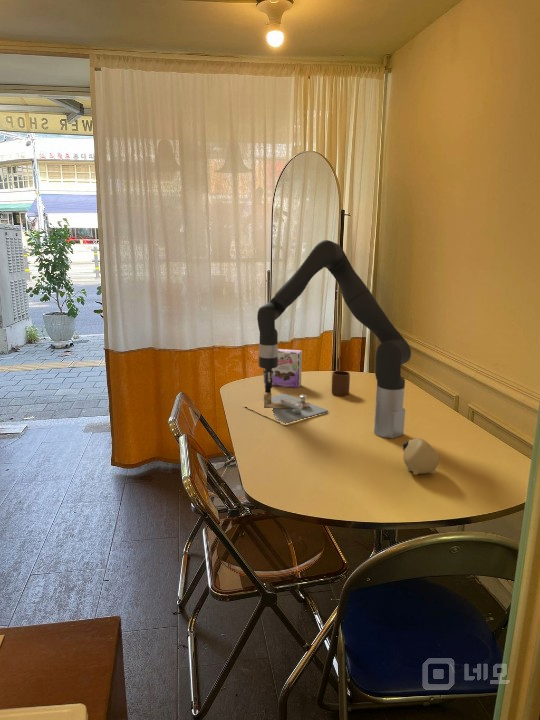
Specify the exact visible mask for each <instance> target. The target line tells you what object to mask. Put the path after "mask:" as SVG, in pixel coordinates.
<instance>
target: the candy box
mask: <svg viewBox="0 0 540 720" xmlns="http://www.w3.org/2000/svg"><path fill="white" fill-rule="evenodd" d="M302 358H303V350H300V349H299V350H297V349H286V348H278V366H277V367H276V368H272V370H273V383H272V385H275V386H274V387H281V386H282V387H283V388H293V389H299V388H300V387H301V386H302V369H303V368H302V366H303V365H302V362H303V359H302Z"/></svg>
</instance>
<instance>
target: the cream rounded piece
mask: <svg viewBox="0 0 540 720" xmlns="http://www.w3.org/2000/svg"><path fill="white" fill-rule="evenodd" d="M402 451H403V456H402V457H403V463H404V464H405V466H406V468H407V471H408V472H412V473H413V475H416V476H417V475H419V474H428V473H430V474H432V475H435V474H436V473H437V470H436V469H437V467H438V466H439V464H440V456H439V454H438V452H437V451H436V450H435V449H434V447H433V446H432V445H431V444H430V443H429V442H428V441H427V440H425V439H423V438H421V437H418V438H414V439H408V441H404V442H403V443H402Z"/></svg>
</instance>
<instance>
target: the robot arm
mask: <svg viewBox="0 0 540 720" xmlns="http://www.w3.org/2000/svg"><path fill="white" fill-rule="evenodd" d="M324 268H325V269H327V270H328V271H329V273H330V274H331V275H332V276H333V277H334V279H335V281H336V283H338V284H337V285H338V286H339V288H340V293H341V295H342V296H341V297H342V298H343V301H344V303H345V305H346V306H347V307H348V309H349V311H350V312H351V314H352V315H353V317H354V318H355V319H356V320H357V321H358V322H360V323H361V324H362V325H363V326H364V327H366V328H367V329H369V330H370V332H371V333H372V334H374V335H375V337H376V338H377V339H378V341H379V342H380V344H379V345H378V346H377V347H376V351H375V360H374V361H375V366H374V368H375V370H374V372H375V378H376V379H375V380H376V393H375V394H376V395H375V409H374V411H375V413H374V428H373V432H374V434H375V435H376V436H379V437H382V438H387V439H389V438H390V439H392V440H393V439H396V438H399V437H401V436H403V435H404V431H405V418H406V409H405V408H404V401H405V399H404V397H405V387H406V386H405V385H406V380H405V378H404V377H402V375H401V373H402V372H401V369H402V368H401V367H402V365H405V364H406V363H408V362H409V361H410V360H411V357H412V350H411V347H410V345H409V343H408V341H407V340H406V339H405V338H404V337H403V335H402V334H401V333H400V331H398V330H397V328H396V327H395V326H394V325H393V323H392V322H391V321H390V319H389V318H388V316H387V314H386V313H385V312H384V311H383V309H382V308H381V306H380V305H379V303H378V302H377V300H376V298H375V297H374V295H373V293H372V292H371V290H370V289H369V288H368V287H367V285H366V284H365V283H364V281H363V280H362V278H360V276H359V275H358V273H356V271H355V269H354V268H353V266H352V264H351V262H350V260H349V259H348V257H347V255H346V252H345V250H344V249H343V247H342V246H341V245H339V243H337V242H334V241H331V240H328V239H324V240H320V241H319V242H318V243H317V244H316V245H315V246H314V248H313V249H312V250H311V251H310V253H309V254H308V256H307V257H306V259H305V260H304V261H303V262H302V264H301V265H300V266H299V268H297V270H296V271H295V272H294V274H293V275H292V276H291V277H290V278H289V279H288V280H287V281H286V282H285V283H284V284H283V285H282V286H281V287H280V288H279V289H278V290H277V291H276V293H275V294H274V296H273V297H272V298H271V299H270V300H269V301H268V302H267V303H266V304H263V305H262V306H260V307H259V309H258V310H257V316H256V319H257V324H258V326H257V327H258V330H259V344H258V345H259V346H258V366H259V368H261V369H262V374H263V384H264V393H266V392H269V393H271V394H272V388H273V386H272V383H273V370H272V368H276V367H277V366H278V349H279V348H278V347H279V346H278V343H279V341H278V340H279V339H278V336H279V335H278V329H277V328H276V320H277V319H278V318H280V317H281V315H282V314H283V313H284V312H285V311H286V310H287V309H288V307H290V306H291V305H292V304H293V303H294V302H296V300H297V299H298V298H299V297H300V296H301V295H302V294H303V293H304V291H305V289H306V288H307V287H308V285H309V283H310V281H311V279H312V278H313V277H314V276H315V275H317V273H319V272H320V271H321V270H323V269H324Z"/></svg>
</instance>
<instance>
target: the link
mask: <svg viewBox="0 0 540 720" xmlns="http://www.w3.org/2000/svg"><path fill="white" fill-rule="evenodd" d="M271 397H272V392H271V393H269V392H266V393H265V392H264V393H263V399H264V408H292V407H289V406H287V405H284V404H282V403H281V402H271ZM296 402H299V403H301V401H296ZM309 403H310V401H307V400H305V403H301V404H303V408H308V407H309Z"/></svg>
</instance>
